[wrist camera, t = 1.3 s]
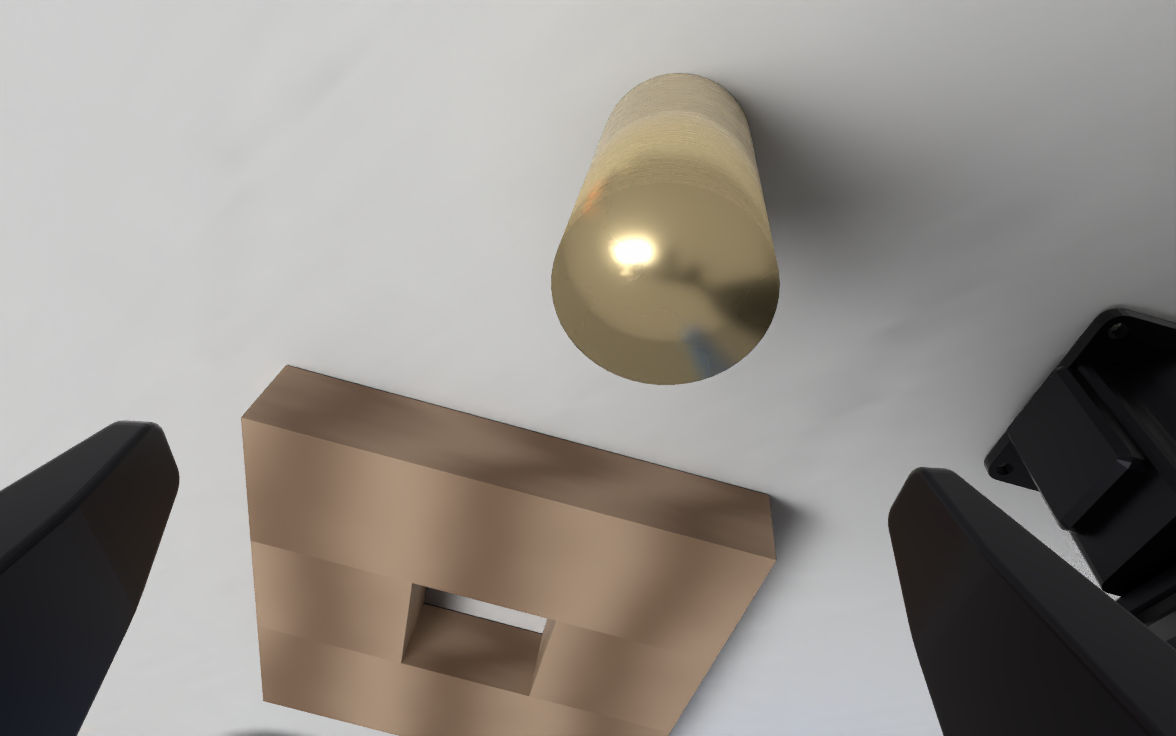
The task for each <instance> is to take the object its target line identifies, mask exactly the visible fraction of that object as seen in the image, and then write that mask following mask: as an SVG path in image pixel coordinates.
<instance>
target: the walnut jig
mask: <svg viewBox="0 0 1176 736" xmlns="http://www.w3.org/2000/svg"><path fill="white" fill-rule="evenodd" d="M241 423H242V436H243V449H244V461H245V474H246V487H247V500H248V512H249V525H250V538H251V550H252V563H253V576H254V588H255V601H256V614H257V627H258V639H259V652H260V665H261V677H262V690H263V701H265V702H269V703H273V704H277V705H281V706H285V707H289V708H293V709H297V710H301V711H305V712H308V713H312V714H316V715H320V716H324V717H328V718H332V719H336V720H340V721H344V722H348V723H352V724H355V725H359V726H363V727H367V728H371V729H375V730H379V731H383V732H387V733H391V734H395V735H399V736H668V735H669V733H670V732H671V730H672V728H673V727H674V725H675V723H676V722H677V720H678V719H679V717H680V715H681V714H682V712H683V710H684V709H685V707H686V706H687V704H688V702H689V701H690V699H691V698H692V696H693V694H694V693H695V691H696V689H697V688H698V686H699V685H700V683H701V681H702V680H703V678H704V677H705V675H706V673H707V672H708V670H709V668H710V667H711V665H712V664H713V662H714V660H715V659H716V657H717V656H718V654H719V652H720V651H721V649H722V647H723V646H724V644H725V643H726V641H727V639H728V638H729V636H730V634H731V633H732V631H733V630H734V628H735V626H736V625H737V623H738V622H739V620H740V618H741V617H742V615H743V613H744V612H745V610H746V609H747V607H748V605H749V604H750V602H751V601H752V599H753V597H754V596H755V594H756V592H757V591H758V589H759V588H760V586H761V584H762V583H763V581H764V580H765V578H766V576H767V575H768V573H769V571H770V570H771V568H772V567H773V565H774V563H775V562H776V552H775V543H774V534H773V525H772V516H771V508H770V499H769V495H767V494H763V493H759V492H756V491H752V490H748V489H744V488H741V487H737V486H733V485H730V484H726V483H722V482H718V481H715V480H711V479H707V478H704V477H700V476H696V475H692V474H689V473H685V472H681V471H678V470H674V469H670V468H666V467H663V466H659V465H655V464H652V463H648V462H644V461H640V460H637V459H633V458H629V457H626V456H622V455H618V454H614V453H611V452H607V451H603V450H599V449H596V448H592V447H588V446H585V445H581V444H577V443H573V442H570V441H566V440H562V439H559V438H555V437H551V436H547V435H544V434H540V433H536V432H533V431H529V430H525V429H521V428H518V427H514V426H510V425H507V424H503V423H499V422H495V421H492V420H488V419H484V418H481V417H477V416H473V415H469V414H466V413H462V412H458V411H454V410H451V409H447V408H443V407H440V406H436V405H432V404H428V403H425V402H421V401H417V400H414V399H410V398H406V397H402V396H399V395H395V394H391V393H388V392H384V391H380V390H376V389H373V388H369V387H365V386H362V385H358V384H354V383H350V382H347V381H343V380H339V379H335V378H332V377H328V376H324V375H321V374H317V373H313V372H309V371H306V370H302V369H298V368H295V367H291V366H287V365H286V366H285V367H284V368H283V369H282V371H281V372H280V373H279V374H278V375H277V376H276V378H275V379H274V380H273V381H272V382H271V383H270V384H269V386H268V387H267V388H266V389H265V390H264V391H263V393H262V394H261V395H260V396H259V397H258V398H257V400H256V401H255V402H254V403H253V404H252V405H251V407H250V408H249V409H248V410H247V411H246V412H245V413H244V415H243V416H242V417H241ZM427 587H429V588H433V589H437V590H441V591H445V592H449V593H452V594H456V595H460V596H464V597H468V598H472V599H475V600H479V601H483V602H487V603H491V604H494V605H498V606H502V607H506V608H510V609H514V610H517V611H521V612H525V613H529V614H533V615H537V616H540V617H544V618H548V619H547V622H546V625H545V628H544V631H543V634H539V633H535V632H531V631H527V630H524V629H520V628H516V627H512V626H508V625H504V624H501V623H497V622H493V621H489V620H485V619H481V618H478V617H474V616H470V615H466V614H462V613H458V612H455V611H451V610H447V609H443V608H439V607H435V606H432V605H428V604H424V600H425V594H426V588H427Z"/></svg>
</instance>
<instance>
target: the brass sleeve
mask: <svg viewBox="0 0 1176 736" xmlns="http://www.w3.org/2000/svg"><path fill="white" fill-rule="evenodd" d="M779 286H780V282H779V270H778V265H777V261H776V256H775V251H774V246H773V241H772V236H771V231H770V226H769V222H768V217H767V212H766V207H765V202H764V197H763V192H762V187H761V183H760V178H759V173H758V168H757V163H756V158H755V153H754V149H753V144H752V139H751V134H750V130H749V125H748V122H747V120H746V117H745V114H744V113H743V111H742V109H741V107H740V105H739V104H738V103H737V102H736V100H735V99H734V98H733V97H732V96H731V95H730V94H729V93H728V92H727V91H726V90H725V89H724V88H722V87H721V86H719V85H718V84H716V83H714V82H713V81H711V80H709V79H706V78H703V77H700V76H697V75H692V74H683V73H675V74H666V75H661V76H657V77H654V78H652V79H649V80H647V81H645V82H643V83H641V84H639V85H638V86H636V87H635V88H633V89H632V90H631V91H629V92H628V93H627V94H626V95H625V96H624V97H623V98H622V99H621V100H620V102H619V103H618V104H617V105H616V107H615V108H614V110H613V112H612V113H611V115H610V117H609V119H608V122H607V124H606V127H605V129H604V132H603V134H602V137H601V139H600V142H599V145H598V147H597V150H596V152H595V155H594V157H593V160H592V163H591V165H590V168H589V170H588V173H587V175H586V178H585V181H584V183H583V186H582V188H581V191H580V193H579V196H578V199H577V201H576V204H575V206H574V209H573V211H572V214H571V217H570V219H569V222H568V224H567V227H566V229H565V232H564V235H563V237H562V240H561V242H560V245H559V247H558V250H557V253H556V256H555V260H554V263H553V269H552V276H551V290H552V297H553V303H554V307H555V310H556V314H557V316H558V318H559V321H560V323H561V325H562V327H563V329H564V330H565V332H566V333H567V335H568V337H569V338H570V339H571V340H572V342H573V343H574V344H575V345H576V347H577V348H578V349H579V350H580V351H581V352H582V353H583V354H584V355H585V356H587V357H588V358H589V359H591V360H592V361H593V362H594V363H596V364H597V365H599V366H601V367H602V368H604V369H606V370H607V371H609V372H612V373H614V374H616V375H618V376H621V377H624V378H627V379H630V380H633V381H637V382H642V383H647V384H657V385H676V384H685V383H691V382H695V381H700V380H703V379H706V378H709V377H712V376H714V375H716V374H719V373H721V372H723V371H725V370H727V369H728V368H730V367H732V366H733V365H735V364H736V363H738V362H739V361H740V360H742V359H743V358H744V357H745V356H747V355H748V354H749V353H750V352H751V351H752V350H753V349H754V348H755V347H756V346H757V344H758V343H759V342H760V340H761V339H762V338H763V336H764V335H765V333H766V331H767V330H768V328H769V326H770V324H771V322H772V319H773V317H774V314H775V311H776V308H777V303H778V299H779Z"/></svg>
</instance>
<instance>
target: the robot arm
mask: <svg viewBox="0 0 1176 736" xmlns="http://www.w3.org/2000/svg"><path fill="white" fill-rule="evenodd" d="M1119 323H1122V324H1121V326H1120V327H1119V328H1117V329H1116V330H1113V331H1109V329H1110V328H1111V327H1112V326H1114V325H1116V324H1119ZM1004 463H1007V464H1006V465H1004V466H1001V467H998V466H999V465H1001V464H1004ZM984 466H985V468H986V470H987V472H988V474H989V475H990V476H991V478H994V479H996V480H999V481H1003V482H1006V483H1010V484H1014V485H1017V486H1021V487H1025V488H1028V489H1032V490H1036V491H1039V492H1040V493H1041V495H1042V497H1043V499H1044V500H1045V502H1046V504H1047V506H1048V507H1049V509H1050V511H1051V513H1052V515H1053V516H1054V518H1055V520H1056V522H1057V524H1058V525H1059V527H1060V528H1061V529H1062V530H1066V531H1069V533H1070V534H1071V536H1072V538H1073V540H1074V541H1075V543H1076V545H1077V547H1078V548H1079V550H1080V552H1081V554H1082V555H1083V557H1084V559H1085V561H1086V562H1087V564H1088V566H1089V568H1090V569H1091V571H1092V573H1093V575H1094V576H1095V578H1096V580H1097V582H1098V583H1099V585H1100V587H1101V589H1102V590H1103V591H1105V592H1107V593H1110V594H1113V595H1117V596H1121V597H1120V598H1118V599H1116V600H1113V599H1112V598H1111V597H1110V596H1108V595H1107V594H1106V593H1105V592H1103V591H1102V590H1101V589H1100V588H1098V587H1097V586H1096V585H1095V584H1093V583H1092V582H1091V581H1090V580H1088V579H1087V578H1086V577H1085V576H1083V575H1082V574H1081V573H1080V572H1078V571H1077V570H1076V569H1075V568H1073V567H1072V566H1071V565H1070V564H1068V563H1067V562H1066V561H1065V560H1063V559H1062V558H1061V557H1060V556H1058V555H1057V554H1056V553H1055V552H1053V551H1052V550H1051V549H1050V548H1048V547H1047V546H1046V545H1045V544H1043V543H1042V542H1041V541H1040V540H1038V539H1037V538H1036V537H1035V536H1033V535H1032V534H1031V533H1030V532H1028V531H1027V530H1026V529H1025V528H1023V527H1022V526H1021V525H1020V524H1018V523H1017V522H1016V521H1015V520H1013V519H1012V518H1011V517H1010V516H1009V515H1007V514H1006V513H1005V512H1004V511H1002V510H1001V509H1000V508H999V507H997V506H996V505H995V504H994V503H992V502H991V501H990V500H989V499H987V498H986V497H985V496H984V495H982V494H981V493H980V492H979V491H977V490H976V489H975V488H974V487H972V486H971V485H970V484H969V483H967V482H966V481H965V480H964V479H962V478H961V477H960V476H959V475H957V474H956V473H955V472H953V471H951V470H948V469H944V468H927V467H919V468H916V469H915V470H913V471H912V472H911V473H910V475H909V476H908V478H907V480H906V482H905V483H904V485H903V487H902V489H901V491H900V492H899V494H898V496H897V498H896V499H895V501H894V503H893V505H892V507H891V509H890V512H889V517H888V527H889V533H890V537H891V542H892V547H893V551H894V556H895V561H896V566H897V570H898V575H899V580H900V584H901V589H902V594H903V599H904V603H905V608H906V613H907V617H908V622H909V626H910V630H911V634H912V639H913V642H914V646H915V649H916V652H917V656H918V659H919V662H920V665H921V668H922V671H923V674H924V677H925V680H926V684H927V687H928V690H929V693H930V696H931V699H932V702H933V705H934V708H935V711H936V714H937V717H938V720H939V723H940V726H941V729H942V732H943V736H1176V324H1175V323H1172V322H1168V321H1165V320H1161V319H1158V318H1154V317H1150V316H1147V315H1143V314H1140V313H1136V312H1133V311H1129V310H1125V309H1118V308H1115V309H1111V310H1107V311H1105V312H1103V313H1101V314H1100V315H1099V316H1098V317H1097V318H1096V319H1095V320H1094V321H1093V322H1092V323H1091V325H1090V326H1089V327H1088V329H1087V330H1086V331H1085V332H1084V334H1083V335H1082V336H1081V337H1080V339H1079V340H1078V341H1077V342H1076V344H1075V345H1074V346H1073V348H1072V349H1071V350H1070V351H1069V353H1068V354H1067V355H1066V356H1065V358H1064V359H1063V360H1062V362H1061V363H1060V364H1059V365H1058V367H1057V368H1056V369H1055V370H1054V371H1053V372H1052V373H1051V374H1050V376H1049V377H1048V378H1047V379H1046V381H1045V382H1044V383H1043V384H1042V386H1041V387H1040V388H1039V389H1038V391H1037V392H1036V393H1035V395H1034V396H1033V397H1032V398H1031V400H1030V401H1029V402H1028V403H1027V405H1026V406H1025V407H1024V409H1023V410H1022V411H1021V412H1020V414H1019V415H1018V416H1017V417H1016V419H1015V420H1014V421H1013V422H1012V424H1011V425H1010V426H1009V428H1008V429H1007V431H1006V432H1005V434H1004V435H1003V436H1002V438H1001V439H1000V440H999V441H998V443H997V444H996V445H995V446H994V448H993V449H992V450H991V451H990V453H989V454H988V455H987V457H986V458H985V460H984ZM178 487H179V471H178V468H177V465H176V462H175V460H174V457H173V455H172V452H171V450H170V447H169V444H168V442H167V439H166V437H165V434H164V432H163V430H162V428H161V427H160V426H159V425H158V424H156V423H153V422H142V421H118V422H115V423H113V424H111V425H109V426H107V427H105V428H104V429H102V430H100V431H99V432H97V433H96V434H94V435H92V436H91V437H89V438H87V439H86V440H84V441H82V442H81V443H79V444H77V445H76V446H74V447H72V448H71V449H69V450H67V451H66V452H64V453H62V454H61V455H59V456H57V457H56V458H54V459H52V460H51V461H49V462H47V463H46V464H44V465H42V466H41V467H39V468H37V469H36V470H34V471H32V472H31V473H29V474H28V475H26V476H24V477H23V478H21V479H19V480H18V481H16V482H14V483H13V484H11V485H9V486H8V487H6V488H4V489H3V490H1V491H0V736H77V734H78V732H79V730H80V728H81V726H82V724H83V722H84V720H85V718H86V716H87V714H88V711H89V709H90V707H91V705H92V703H93V701H94V699H95V697H96V695H97V693H98V690H99V688H100V686H101V684H102V682H103V680H104V678H105V676H106V674H107V672H108V669H109V667H110V665H111V663H112V661H113V659H114V657H115V655H116V653H117V651H118V648H119V646H120V644H121V642H122V640H123V638H124V636H125V634H126V632H127V629H128V627H129V625H130V623H131V620H132V618H133V616H134V614H135V611H136V609H137V606H138V604H139V601H140V598H141V596H142V593H143V591H144V588H145V585H146V582H147V579H148V576H149V573H150V570H151V567H152V564H153V561H154V559H155V556H156V553H157V550H158V547H159V544H160V541H161V538H162V535H163V532H164V530H165V527H166V524H167V521H168V518H169V515H170V512H171V509H172V506H173V503H174V501H175V498H176V495H177V491H178Z"/></svg>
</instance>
